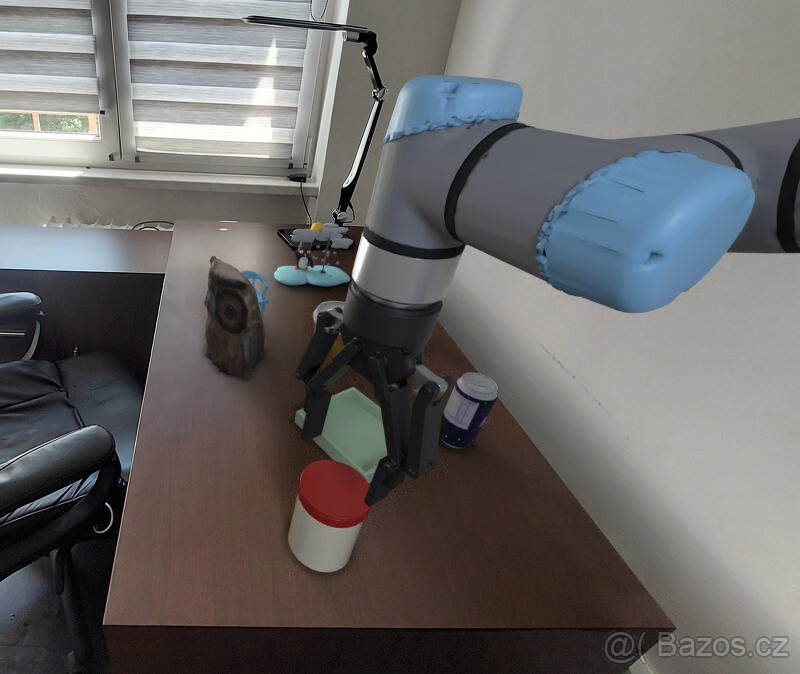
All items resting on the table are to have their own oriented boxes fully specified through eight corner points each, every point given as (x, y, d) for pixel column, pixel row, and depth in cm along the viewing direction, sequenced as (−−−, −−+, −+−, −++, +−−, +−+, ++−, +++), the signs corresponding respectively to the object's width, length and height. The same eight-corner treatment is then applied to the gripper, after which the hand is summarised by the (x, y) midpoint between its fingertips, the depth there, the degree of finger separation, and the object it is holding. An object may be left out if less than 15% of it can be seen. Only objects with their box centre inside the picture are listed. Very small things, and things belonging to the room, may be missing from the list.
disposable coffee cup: (362, 368, 90) (377, 316, 83) (329, 385, 85) (342, 331, 79) (326, 345, 96) (337, 295, 90) (293, 359, 92) (303, 307, 85)
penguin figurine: (276, 288, 117) (284, 232, 108) (270, 270, 126) (277, 216, 117) (353, 290, 117) (367, 234, 109) (342, 271, 126) (354, 218, 118)
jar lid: (384, 509, 53) (388, 499, 52) (331, 541, 49) (335, 531, 48) (333, 459, 59) (336, 450, 58) (283, 485, 55) (285, 475, 54)
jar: (364, 553, 58) (385, 501, 52) (316, 584, 54) (334, 532, 49) (320, 505, 64) (335, 454, 58) (275, 531, 60) (286, 479, 54)
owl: (247, 385, 85) (258, 289, 73) (185, 367, 89) (187, 274, 77) (266, 349, 94) (278, 260, 83) (210, 334, 98) (214, 247, 87)
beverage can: (473, 456, 72) (504, 399, 65) (434, 445, 74) (460, 388, 67) (469, 431, 76) (498, 375, 70) (433, 422, 78) (457, 367, 71)
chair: (239, 336, 98) (244, 287, 91) (222, 318, 104) (225, 270, 97) (270, 329, 101) (276, 281, 94) (251, 311, 107) (256, 264, 100)
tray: (421, 453, 72) (426, 442, 71) (361, 487, 66) (365, 476, 65) (350, 397, 83) (353, 386, 81) (294, 421, 77) (296, 411, 76)
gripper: (558, 342, 32) (449, 529, 45) (336, 235, 48) (302, 396, 60) (495, 374, 29) (397, 565, 42) (279, 248, 44) (256, 415, 57)
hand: (341, 465), depth 51 cm, fingers open, 9 cm apart
